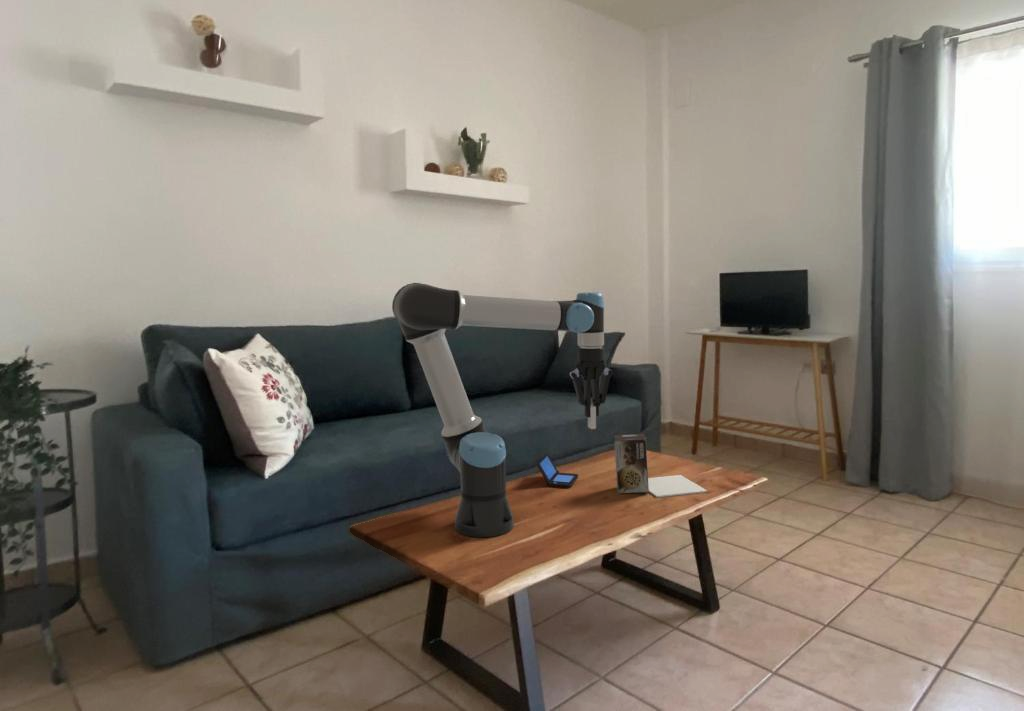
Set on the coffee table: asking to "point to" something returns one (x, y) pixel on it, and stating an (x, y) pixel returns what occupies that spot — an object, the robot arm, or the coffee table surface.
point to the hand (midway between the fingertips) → (591, 427)
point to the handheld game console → (555, 474)
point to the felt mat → (673, 486)
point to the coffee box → (631, 463)
